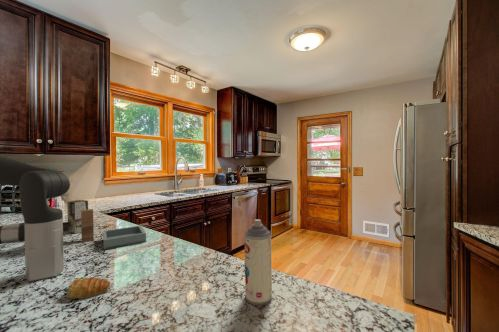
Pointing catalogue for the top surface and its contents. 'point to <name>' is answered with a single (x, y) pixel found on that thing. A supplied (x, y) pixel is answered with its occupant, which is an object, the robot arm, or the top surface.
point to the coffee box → (76, 214)
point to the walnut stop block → (87, 225)
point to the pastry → (87, 287)
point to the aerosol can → (258, 264)
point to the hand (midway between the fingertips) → (69, 226)
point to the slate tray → (123, 237)
